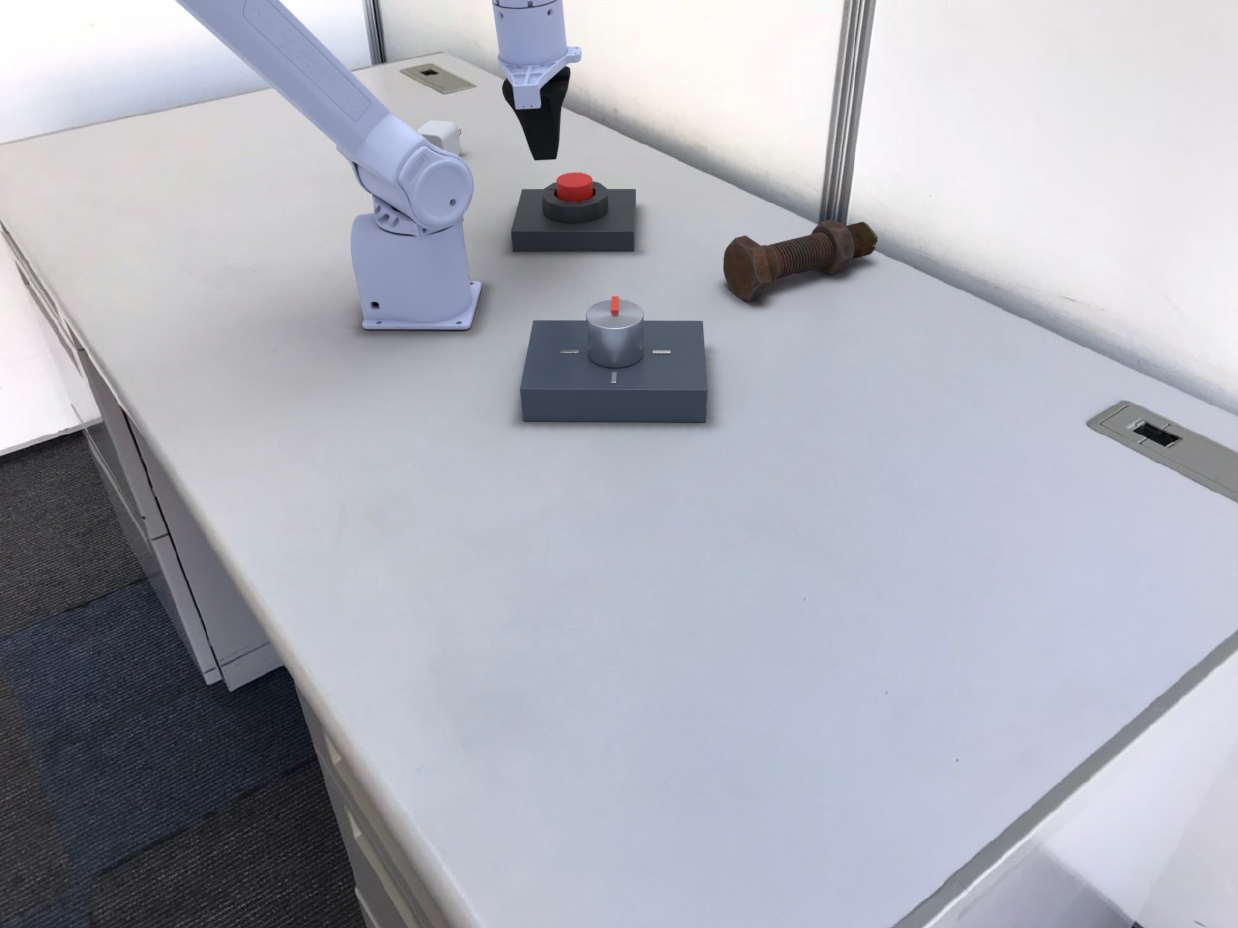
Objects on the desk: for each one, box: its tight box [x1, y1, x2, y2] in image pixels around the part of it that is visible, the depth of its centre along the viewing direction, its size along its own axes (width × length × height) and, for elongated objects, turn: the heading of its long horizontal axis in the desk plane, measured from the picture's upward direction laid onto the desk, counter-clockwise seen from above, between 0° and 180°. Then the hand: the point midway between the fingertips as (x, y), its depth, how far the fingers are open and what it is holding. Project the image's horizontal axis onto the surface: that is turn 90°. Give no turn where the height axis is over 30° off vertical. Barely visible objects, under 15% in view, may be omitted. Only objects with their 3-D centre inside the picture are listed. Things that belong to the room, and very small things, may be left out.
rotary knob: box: [585, 295, 645, 368], centre depth 77 cm, size 4×4×4 cm
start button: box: [555, 172, 594, 201], centre depth 99 cm, size 4×4×2 cm
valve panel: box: [519, 319, 708, 423], centre depth 79 cm, size 14×10×3 cm
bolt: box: [722, 219, 879, 303], centre depth 92 cm, size 6×5×15 cm
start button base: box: [510, 180, 637, 253], centre depth 101 cm, size 12×10×4 cm
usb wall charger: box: [416, 119, 462, 156], centre depth 116 cm, size 4×7×4 cm, turn 163°
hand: (545, 157), depth 90 cm, fingers closed
